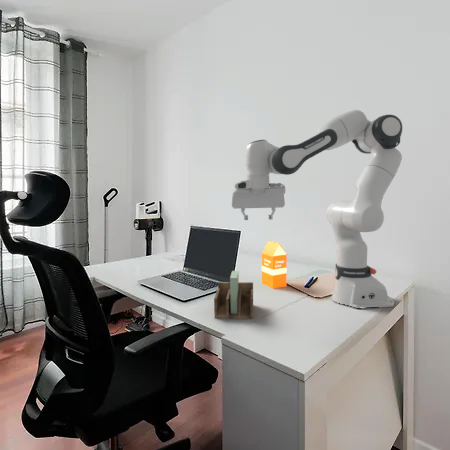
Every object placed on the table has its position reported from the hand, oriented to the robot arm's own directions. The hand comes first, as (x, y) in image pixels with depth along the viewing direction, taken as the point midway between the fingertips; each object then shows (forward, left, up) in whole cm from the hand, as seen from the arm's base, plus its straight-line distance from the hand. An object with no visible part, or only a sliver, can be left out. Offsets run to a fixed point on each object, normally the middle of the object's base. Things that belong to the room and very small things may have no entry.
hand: (258, 219), depth 127 cm
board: (+9, +11, -32) cm, 35 cm away
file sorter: (+9, +11, -33) cm, 36 cm away
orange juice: (-7, -21, -33) cm, 40 cm away
